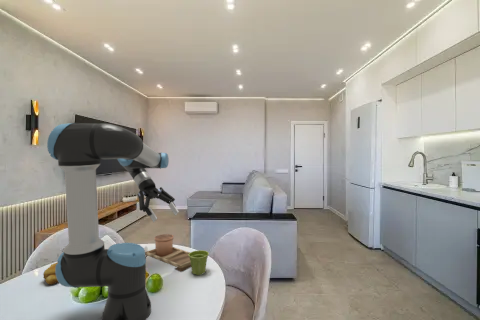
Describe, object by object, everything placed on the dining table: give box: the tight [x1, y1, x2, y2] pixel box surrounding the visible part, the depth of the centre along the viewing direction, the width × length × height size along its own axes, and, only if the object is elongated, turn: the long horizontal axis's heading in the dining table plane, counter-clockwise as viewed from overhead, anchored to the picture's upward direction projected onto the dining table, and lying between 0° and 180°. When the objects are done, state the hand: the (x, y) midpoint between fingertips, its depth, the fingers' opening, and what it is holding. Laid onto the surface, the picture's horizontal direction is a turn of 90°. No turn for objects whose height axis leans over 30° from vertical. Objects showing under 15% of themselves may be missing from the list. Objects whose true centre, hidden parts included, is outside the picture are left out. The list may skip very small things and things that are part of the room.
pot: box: [154, 233, 175, 256], centre depth 137 cm, size 10×10×9 cm
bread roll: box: [42, 261, 59, 285], centre depth 111 cm, size 13×10×8 cm
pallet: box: [145, 246, 191, 273], centre depth 133 cm, size 30×14×3 cm, turn 53°
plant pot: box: [188, 249, 210, 276], centre depth 117 cm, size 9×9×9 cm
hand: (166, 217), depth 119 cm, fingers open, 13 cm apart
